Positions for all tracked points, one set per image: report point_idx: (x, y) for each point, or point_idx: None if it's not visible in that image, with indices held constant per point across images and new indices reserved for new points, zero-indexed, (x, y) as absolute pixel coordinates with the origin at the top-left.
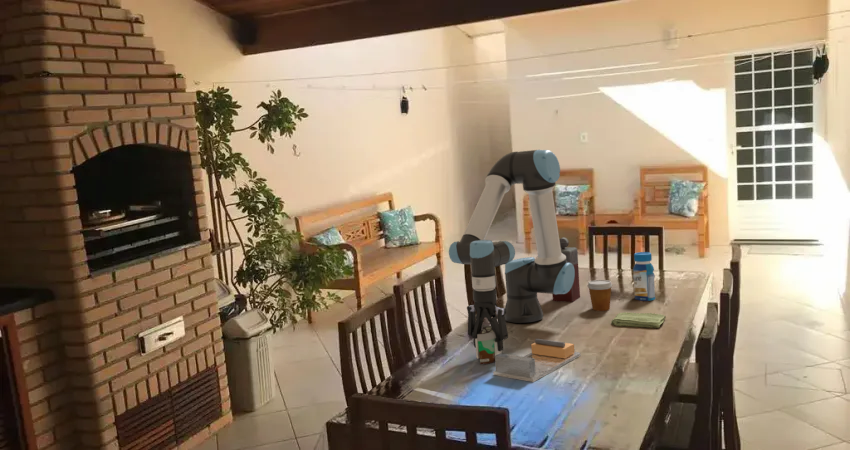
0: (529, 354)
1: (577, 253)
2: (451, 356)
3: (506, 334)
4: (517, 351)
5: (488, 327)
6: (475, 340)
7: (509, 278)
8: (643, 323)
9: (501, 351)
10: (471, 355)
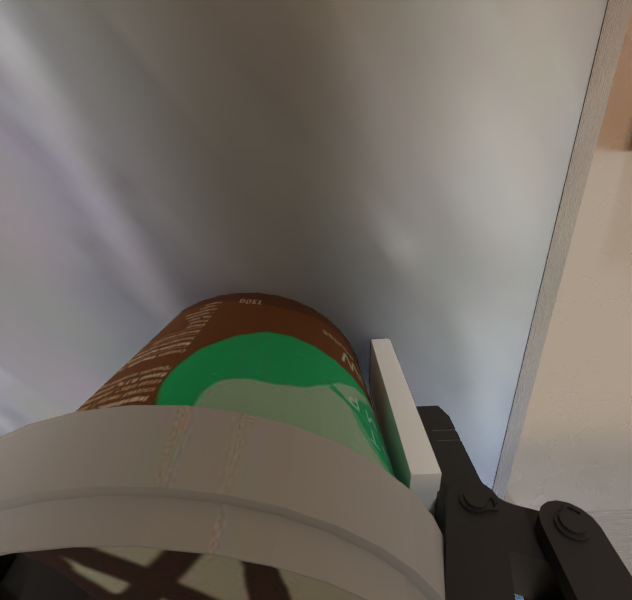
0: (604, 175)
1: None
2: (6, 426)
3: (617, 588)
4: (373, 42)
5: (90, 523)
6: None
7: None
8: None
9: (404, 379)
10: (98, 351)
